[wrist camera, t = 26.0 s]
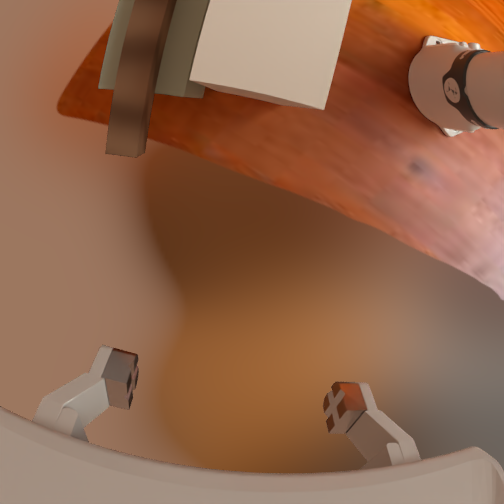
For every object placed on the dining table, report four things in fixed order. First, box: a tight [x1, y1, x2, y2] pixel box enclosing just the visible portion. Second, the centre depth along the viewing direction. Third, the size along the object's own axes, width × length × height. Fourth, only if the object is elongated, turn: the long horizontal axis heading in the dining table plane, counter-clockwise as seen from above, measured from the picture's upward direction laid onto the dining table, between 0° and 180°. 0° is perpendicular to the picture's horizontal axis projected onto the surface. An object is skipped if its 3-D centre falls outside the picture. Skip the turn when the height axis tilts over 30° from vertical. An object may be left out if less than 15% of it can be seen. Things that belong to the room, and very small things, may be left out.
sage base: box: [98, 0, 210, 98], centre depth 33 cm, size 14×10×16 cm
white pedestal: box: [189, 0, 352, 110], centre depth 29 cm, size 15×10×26 cm, turn 167°
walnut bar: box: [106, 0, 177, 158], centre depth 25 cm, size 21×4×3 cm, turn 168°
